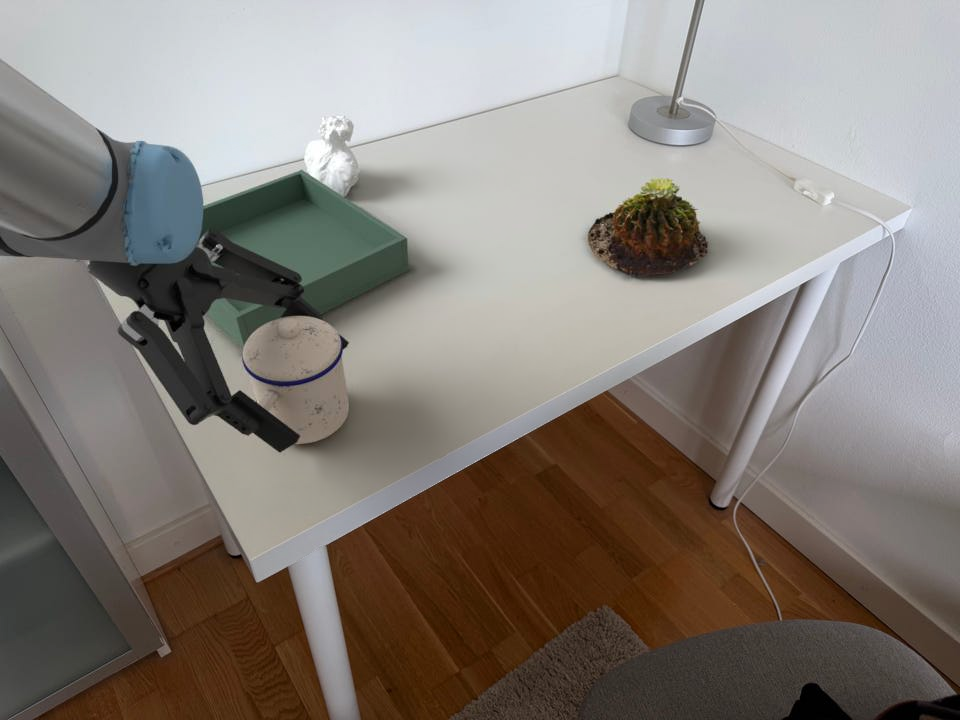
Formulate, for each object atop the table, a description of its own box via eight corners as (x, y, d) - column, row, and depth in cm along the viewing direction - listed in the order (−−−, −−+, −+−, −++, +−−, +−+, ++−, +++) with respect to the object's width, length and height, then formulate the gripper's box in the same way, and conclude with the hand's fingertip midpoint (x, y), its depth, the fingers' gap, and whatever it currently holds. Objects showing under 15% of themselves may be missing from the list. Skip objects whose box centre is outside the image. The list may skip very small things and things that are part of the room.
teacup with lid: (287, 373, 73) (267, 285, 65) (366, 392, 72) (355, 304, 64) (225, 456, 65) (194, 366, 57) (312, 481, 63) (293, 391, 55)
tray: (245, 352, 77) (236, 318, 74) (152, 261, 89) (140, 228, 86) (408, 270, 89) (407, 237, 86) (306, 200, 101) (301, 169, 98)
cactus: (635, 202, 104) (647, 140, 97) (729, 245, 96) (750, 181, 89) (561, 245, 94) (570, 180, 88) (658, 297, 86) (676, 230, 80)
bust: (361, 212, 104) (394, 143, 101) (322, 197, 97) (357, 123, 95) (318, 182, 110) (348, 116, 107) (279, 166, 104) (311, 96, 101)
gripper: (171, 188, 67) (337, 331, 76) (-4, 348, 50) (238, 510, 58) (208, 143, 63) (380, 299, 71) (32, 299, 45) (287, 482, 54)
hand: (317, 394), depth 65 cm, fingers closed on teacup with lid, 12 cm apart
